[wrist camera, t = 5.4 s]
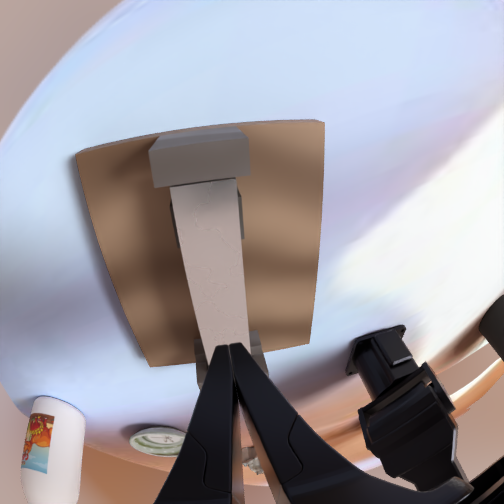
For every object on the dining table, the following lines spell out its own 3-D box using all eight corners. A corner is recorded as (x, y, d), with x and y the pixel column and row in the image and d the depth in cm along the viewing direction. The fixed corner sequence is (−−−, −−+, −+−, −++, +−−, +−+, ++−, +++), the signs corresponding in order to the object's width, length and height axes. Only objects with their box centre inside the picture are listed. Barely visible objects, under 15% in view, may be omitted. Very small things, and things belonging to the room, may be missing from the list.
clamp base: (304, 331, 26) (324, 379, 21) (150, 354, 24) (148, 405, 20) (314, 119, 16) (359, 134, 12) (84, 148, 15) (43, 176, 10)
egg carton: (250, 457, 44) (254, 476, 40) (232, 447, 40) (236, 469, 36) (306, 440, 43) (312, 459, 39) (294, 429, 39) (301, 451, 35)
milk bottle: (79, 401, 27) (70, 552, 10) (91, 427, 31) (88, 553, 14) (27, 388, 25) (4, 528, 8) (44, 416, 29) (31, 536, 12)
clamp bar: (250, 369, 22) (253, 383, 21) (213, 375, 22) (215, 389, 21) (233, 171, 14) (236, 180, 13) (171, 179, 14) (169, 189, 12)
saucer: (118, 419, 30) (116, 435, 28) (188, 415, 31) (189, 432, 29) (144, 445, 35) (145, 458, 33) (205, 441, 36) (206, 455, 34)
